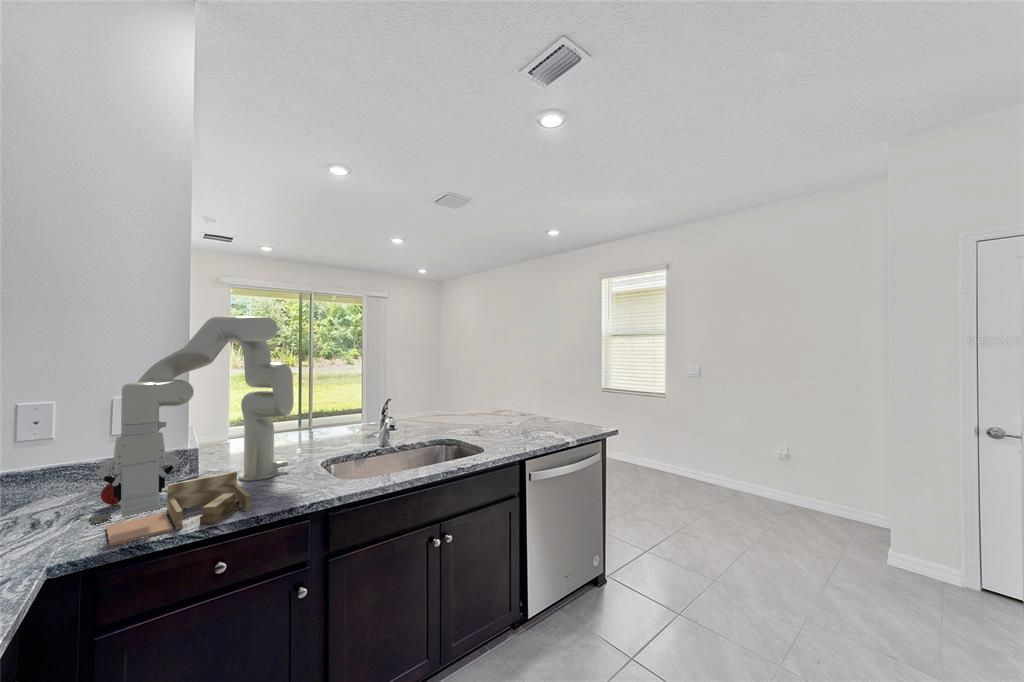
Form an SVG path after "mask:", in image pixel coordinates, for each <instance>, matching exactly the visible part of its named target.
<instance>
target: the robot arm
mask: <svg viewBox="0 0 1024 682" xmlns="http://www.w3.org/2000/svg"><path fill="white" fill-rule="evenodd" d="M278 329H279V328H278V324H277V322H276V320H275V319H273V318H272V317H269V316H247V315H245V316H243V315H241V316H239V315H234V316H233V315H221V316H220V315H217V316H213V317H210V318H209V319H208V320H206V322H204V323H203V325H201V327H200V328H199V329H198V331H196V333H195V334H194V335H193V336H192V337H191V339H189V341H188V342H187V343H186V344H185V345H184V346H183V347H182V348H180V349H179V350H177V351H175V352H173V353H170V354H169V355H167V356H166V357H163V358H162V359H160V360H158V361H157V362H155V363H154V364H153V365H151V366H150V367H149V368H148V369H147V370H146V371H145V373H144V374H142V376H141V377H140V378H139V379H138V381H137V382H130V383H126V384H124V385H123V386H122V388H121V411H120V413H121V424H120V435H117V436H116V439H115V443H114V449H113V457H112V458H113V459H112V460H111V461H109V462H108V463H107V464H105V465H103V466H102V467H101V468H99V469H98V470H97V471H96V475H97V476H98V477H99V478H100V479H102V480H104V482H107V483H108V484H109V483H110V484H112V485H113V498H115V497H117V501H120V500H121V468H122V467H126V466H132V465H138V464H144V463H150V462H157V461H158V462H159V494H161V493H162V492H163V489H165V488H166V477H167V475H168V474H169V473H170V472H171V471H172V470H174V468H175V467H176V466H177V465H178V463H179V462H180V458H178V457H177V456H174V455H171V454H169V453H167V452H166V448H165V438H164V434H163V431H162V430H161V429H163V428H166V427H167V422H166V421H160V408H161V407H176V406H177V407H178V406H182V405H185V404H187V403H189V402H190V400H191V399H192V398H193V396H194V391H195V390H194V387H193V385H192V384H191V383H190V382H188V381H186V380H182V379H175V378H178V377H179V376H181V375H183V374H185V373H188V372H192V371H195V370H198V369H201V368H204V367H206V366H209V365H210V364H212V363H213V362H214V361H215V359H216V358H217V357H218V356H219V355H220V353H221V352H222V351H223V349H224V348H225V346H227V344H228V343H238V345H239V346H240V347H241V349H242V353H243V367H244V379H245V383H246V385H247V386H248V387H251V388H258V389H272V391H271V390H254V391H250V392H248V393H246V394H245V395H244V396H243V397H242V398H241V403H240V405H241V406H240V408H241V412H242V418H243V426H244V427H243V428H244V429H243V430H244V431H243V432H244V435H243V441H244V442H243V443H244V444H243V471H242V472H241V473H239V474H238V480H240V481H246V482H247V481H248V482H251V481H252V482H253V481H261V480H267V479H270V478H272V477H275V476H277V475H278V474H279V469H280V468H285V467H288V466H289V464H288V463H289V462H288V461H287V460H286V461H282V460H281V461H275V460H274V459H275V458H274V457H275V455H274V454H275V450H274V449H275V426H274V423H273V420H272V418H285V417H287V416H289V415H290V414H291V413H292V411H293V408H294V401H295V400H294V399H295V398H294V378H293V377H294V376H293V371H292V369H291V367H290V366H289V365H288V364H287V363H284V362H276V361H275V362H274V361H272V356H271V355H272V354H271V348H270V346H269V343H268V342H267V341H270V340H272V339H274V338H275V336H276V335H277V333H278ZM166 460H168V461H170V463H169V464H168V465H167V466H166ZM165 466H166V467H165ZM164 467H165V468H164ZM163 468H164V469H163ZM111 469H113V472H114V474H115V476H114V477H113V476H111V475H109V474H108V473H107V472H108V471H110V470H111ZM120 502H121V501H120Z"/></svg>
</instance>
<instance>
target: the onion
mask: <svg viewBox="0 0 1024 682" xmlns="http://www.w3.org/2000/svg"><path fill="white" fill-rule="evenodd" d="M100 499H101V501H102V502H103V503H105V504H107V505H110V506H115V505H114V504H117V505H118V504H119V503H121V500H120V501H117V497H115V498H113V485H112V484H110V483H108V484H107V485H106V486H105V487H103V488H102V490H101V492H100Z"/></svg>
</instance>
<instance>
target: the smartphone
mask: <svg viewBox="0 0 1024 682" xmlns="http://www.w3.org/2000/svg"><path fill="white" fill-rule="evenodd" d="M162 507H163V506H162V505H161V504H159V508H158V509H160V508H162ZM162 509H163V508H162ZM160 510H161V509H160ZM110 516H111V514H109V513H105V514H101V515H96V516H93V517H90V518H88V519H89V521H90V522H92V524H94V525H96V524H101V523H104V522H107V521H111V520H109V519H112V518H111V517H110ZM108 518H109V519H108ZM89 521H88V522H89ZM90 522H89V523H90ZM92 524H91V525H92Z"/></svg>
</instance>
